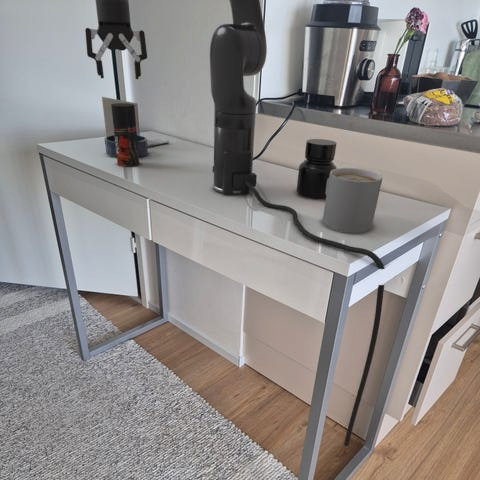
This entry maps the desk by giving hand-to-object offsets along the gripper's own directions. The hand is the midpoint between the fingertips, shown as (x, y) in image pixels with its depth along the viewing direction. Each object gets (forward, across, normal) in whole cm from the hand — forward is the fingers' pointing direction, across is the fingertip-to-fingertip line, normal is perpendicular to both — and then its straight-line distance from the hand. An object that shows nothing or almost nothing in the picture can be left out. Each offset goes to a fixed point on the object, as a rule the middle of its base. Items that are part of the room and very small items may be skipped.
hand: (120, 78), depth 110 cm
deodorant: (+21, 0, 0) cm, 21 cm away
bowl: (+21, 0, +12) cm, 24 cm away
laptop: (+21, +4, +30) cm, 37 cm away
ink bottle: (+22, +43, -32) cm, 58 cm away
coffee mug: (+22, +44, -51) cm, 70 cm away
